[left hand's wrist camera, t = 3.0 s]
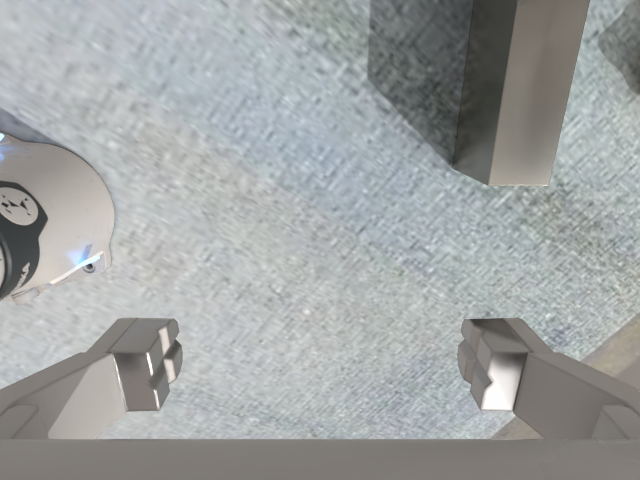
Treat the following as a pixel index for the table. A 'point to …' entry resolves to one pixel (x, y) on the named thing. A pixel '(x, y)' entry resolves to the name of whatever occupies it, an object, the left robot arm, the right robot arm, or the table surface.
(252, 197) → the table surface
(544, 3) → the bar
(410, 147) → the table surface
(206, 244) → the table surface
